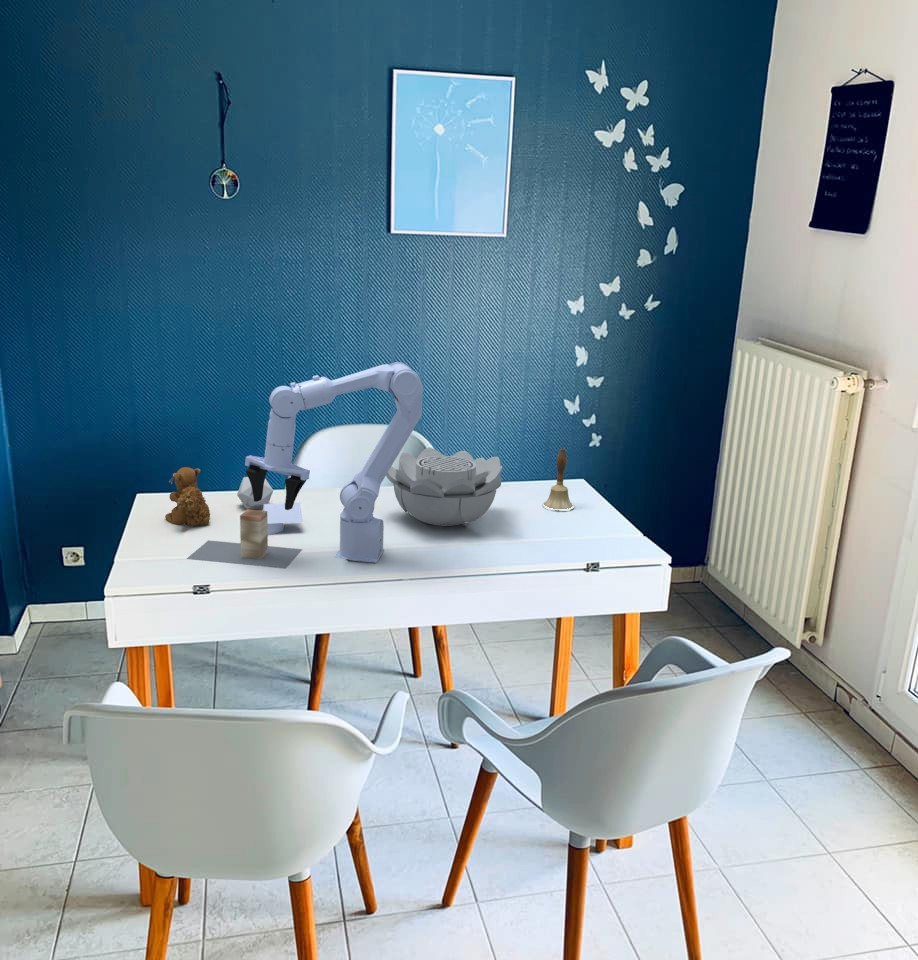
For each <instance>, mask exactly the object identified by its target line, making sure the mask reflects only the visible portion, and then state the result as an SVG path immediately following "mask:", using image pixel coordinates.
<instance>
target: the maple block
mask: <svg viewBox="0 0 918 960" xmlns="http://www.w3.org/2000/svg"><path fill="white" fill-rule="evenodd" d="M239 524H240V525H239V526H240V527H239V530H240V535H239V536H240V537H239V539H240V543H241V557H243V558H253V559H262V558H263V557H264V556H265V555H266V554H267V552H268V546H269V543H268V542H269V541H268V540H269V539H268V537H269V536H268V522H267V511H262V510H258V509H246V510H245V511H243V512H242V514H240V515H239Z"/></svg>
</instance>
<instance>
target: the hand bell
mask: <svg viewBox="0 0 918 960" xmlns="http://www.w3.org/2000/svg"><path fill="white" fill-rule="evenodd" d="M567 459H568V458H567V454H566V449H565V448H560V449H559V452H558V453H557V457H556V468H557V476H556V478H557V479H556V484H555V485H553V486H551V488H550V492H549V493H550V494H549V495H548V498H547V500H545V502H543V504H544V505H545V506H547V507H549V508H553V509H567V508H568V509H569V508H571V507H572V506H574V504H573V503H572V502H571V500H570V497H569V488H568V487H567V486H565V485H564V472H565V469H566V466H567V462H568V461H567ZM572 504H573V505H572Z"/></svg>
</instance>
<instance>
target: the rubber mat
mask: <svg viewBox="0 0 918 960" xmlns="http://www.w3.org/2000/svg"><path fill="white" fill-rule="evenodd" d="M302 551H303V548H295V547H293V548H292V547H282V546H272V545H268V552H267V554H266V555H265V556H264V557H263V558H262V559H253V558H243V557H241V542H240V543H239V542H230V541H229V542H228V541H218V540H207V541H206V542H204V543H203V544H202V545H201V546H200V547H198V548H197V549H196V550H195V551H194V552H193V553H191V554H190V555H189V556H188V557H187V558H186V559H187V560H192V561H193V560H195V561H204V562H205V561H206V562H215V563H222V564H223V563H225V564H235V565H236V564H237V565H244V566H245V565H246V566H255V567H266V568H267V567H268V568H275V569H276V568H278V569H287V568H288V566H290V565H291V563H292V562H293V561H294V560H295V559H296V557H297V556H298V555H299V554H300V553H301V552H302Z"/></svg>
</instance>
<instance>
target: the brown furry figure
mask: <svg viewBox="0 0 918 960" xmlns="http://www.w3.org/2000/svg"><path fill="white" fill-rule="evenodd" d="M200 472H201V469H200V468H195V469H193V468H191V467H187V466H186V467H185V466H184V467H183V466H182V467H181V468H179V469H178V470H177V472H174V473H172V477H171V479H169V481H168V483H170V485H172V484H173V481H174V484H175V487H176V489H177V491H172V492H170V494H169V500H170V501H171V502H175V503H176V506H174V507H173V508H172V509H171V512H168V513H167V514H165V516H164V517H165V520H166V521H167V522H169V523H171V524H174V525H187V526H190V527H191V528H194V527H201V526H207V525H208V524H209V523H210V520H211V513H210V508H209V504H208V503H206V502H207V501H206V497H204V496H203V491H202V490H201V488H198V481H197V477H198V476H199V475H200Z"/></svg>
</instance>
